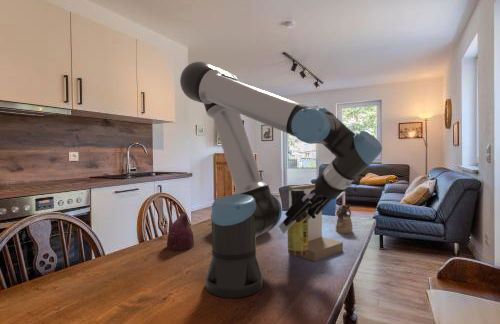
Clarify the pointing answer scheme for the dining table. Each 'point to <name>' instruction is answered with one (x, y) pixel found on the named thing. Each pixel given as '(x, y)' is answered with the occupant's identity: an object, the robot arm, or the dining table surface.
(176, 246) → the vegetable
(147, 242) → the dining table surface
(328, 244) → the upright board stand
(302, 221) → the sauce bottle
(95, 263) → the dining table surface
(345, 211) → the figurine
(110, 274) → the dining table surface
